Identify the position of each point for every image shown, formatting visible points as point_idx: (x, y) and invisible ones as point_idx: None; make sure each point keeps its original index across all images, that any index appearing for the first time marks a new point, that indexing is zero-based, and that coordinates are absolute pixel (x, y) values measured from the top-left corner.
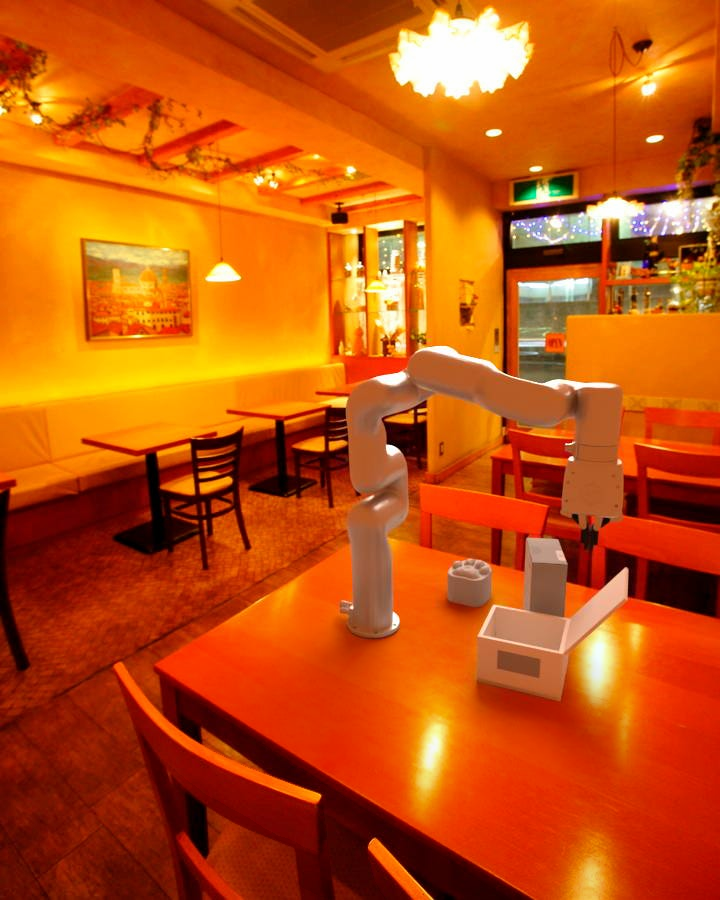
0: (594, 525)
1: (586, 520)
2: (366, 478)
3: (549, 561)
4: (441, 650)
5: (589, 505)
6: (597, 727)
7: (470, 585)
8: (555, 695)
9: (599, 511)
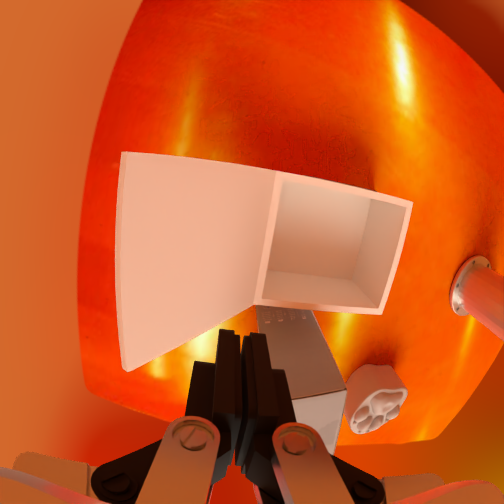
0: (211, 451)
1: (263, 491)
2: None
3: (308, 404)
4: (412, 253)
5: None
6: (218, 127)
7: (381, 383)
8: None
9: None
